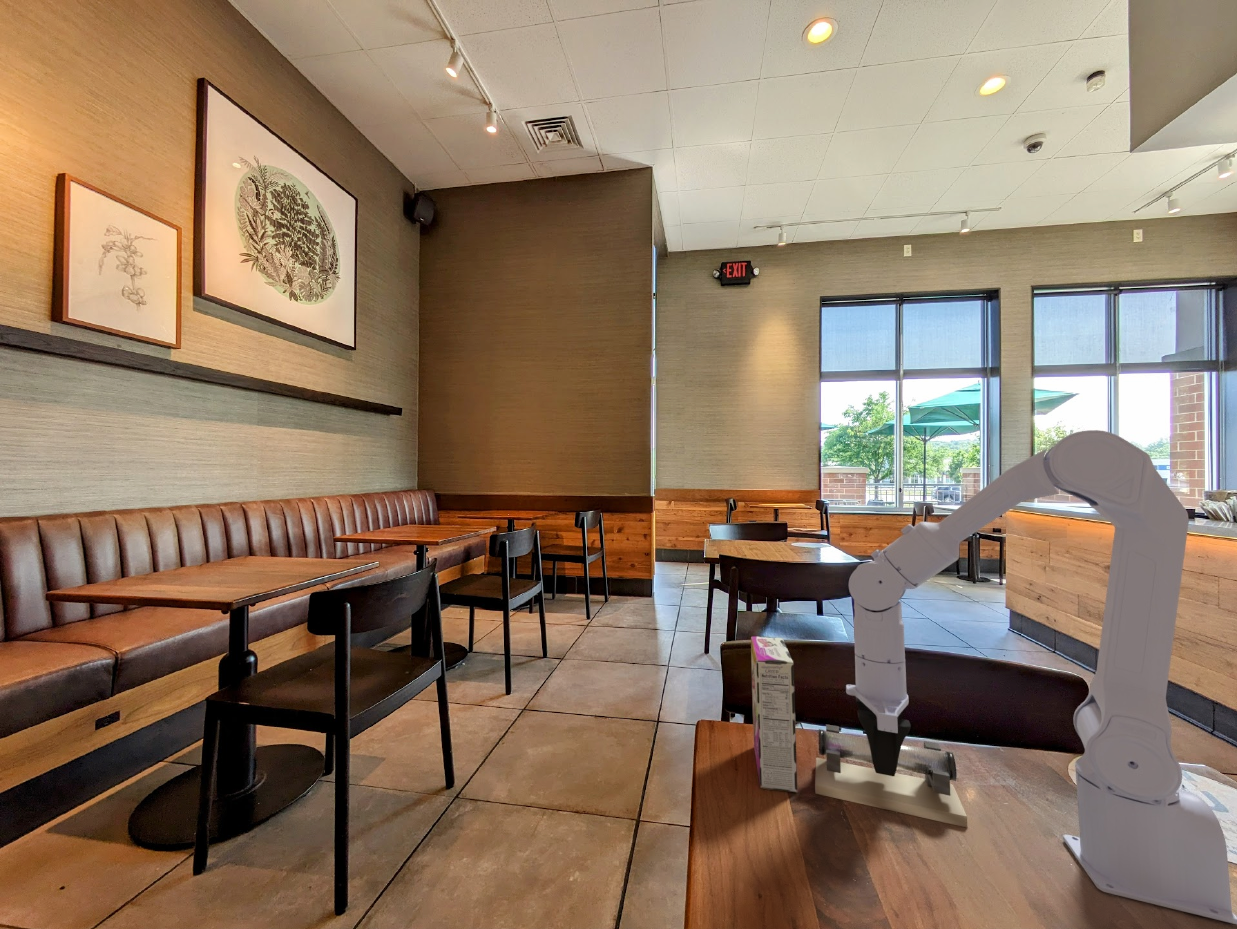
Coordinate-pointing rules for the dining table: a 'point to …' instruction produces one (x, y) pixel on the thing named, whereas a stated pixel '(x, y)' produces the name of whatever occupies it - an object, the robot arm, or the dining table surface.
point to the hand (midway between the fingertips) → (883, 766)
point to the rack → (890, 788)
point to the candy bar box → (774, 714)
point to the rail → (908, 758)
